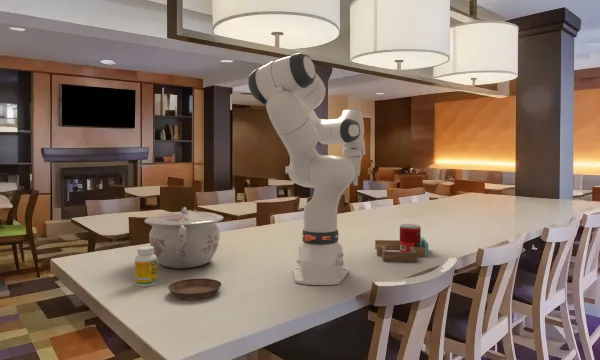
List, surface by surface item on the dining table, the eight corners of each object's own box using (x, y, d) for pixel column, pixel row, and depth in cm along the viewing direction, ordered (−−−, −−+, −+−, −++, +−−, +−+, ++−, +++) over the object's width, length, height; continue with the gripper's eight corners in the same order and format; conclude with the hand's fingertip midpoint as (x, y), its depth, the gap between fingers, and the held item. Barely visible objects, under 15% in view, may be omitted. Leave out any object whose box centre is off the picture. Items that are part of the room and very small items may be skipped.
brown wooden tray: (424, 256, 169) (425, 247, 168) (376, 255, 171) (376, 246, 171) (419, 249, 181) (419, 240, 181) (375, 248, 184) (375, 239, 183)
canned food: (419, 255, 170) (420, 227, 169) (398, 254, 173) (398, 226, 172) (420, 251, 177) (421, 224, 177) (400, 250, 180) (400, 223, 179)
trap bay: (416, 262, 160) (416, 252, 160) (383, 261, 162) (383, 252, 162) (413, 256, 169) (413, 247, 169) (381, 255, 171) (381, 246, 170)
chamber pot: (183, 252, 178) (181, 201, 177) (239, 259, 166) (238, 204, 164) (126, 269, 153) (124, 209, 152) (187, 279, 141) (186, 214, 139)
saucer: (201, 283, 137) (200, 274, 137) (232, 293, 128) (232, 284, 128) (158, 295, 126) (157, 285, 126) (188, 307, 117) (188, 296, 116)
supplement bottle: (139, 281, 139) (138, 245, 138) (159, 280, 139) (158, 245, 139) (132, 287, 133) (131, 250, 132) (154, 287, 133) (153, 249, 132)
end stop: (428, 256, 169) (428, 243, 168) (424, 256, 169) (425, 243, 168) (422, 249, 181) (422, 237, 181) (419, 249, 181) (419, 237, 181)
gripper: (346, 149, 187) (348, 182, 188) (345, 152, 167) (347, 189, 168) (361, 148, 186) (363, 181, 187) (362, 151, 166) (364, 188, 167)
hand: (355, 185), depth 178 cm, fingers closed
